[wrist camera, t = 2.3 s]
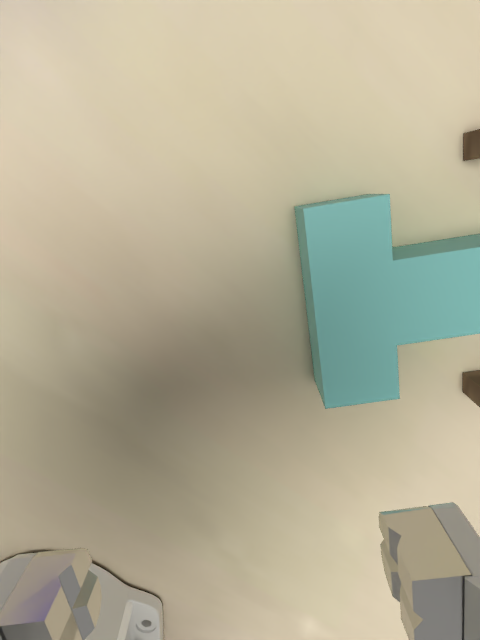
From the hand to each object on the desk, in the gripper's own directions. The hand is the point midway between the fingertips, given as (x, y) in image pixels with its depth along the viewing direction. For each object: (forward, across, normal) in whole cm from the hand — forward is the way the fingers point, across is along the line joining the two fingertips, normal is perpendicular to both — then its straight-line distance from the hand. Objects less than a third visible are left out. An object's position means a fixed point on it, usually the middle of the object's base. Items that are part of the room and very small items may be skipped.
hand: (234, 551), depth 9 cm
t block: (+19, +11, 0) cm, 22 cm away
